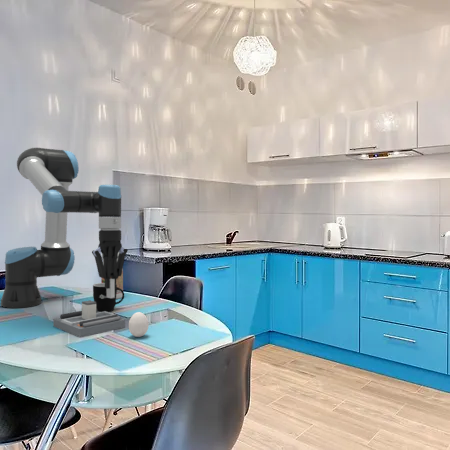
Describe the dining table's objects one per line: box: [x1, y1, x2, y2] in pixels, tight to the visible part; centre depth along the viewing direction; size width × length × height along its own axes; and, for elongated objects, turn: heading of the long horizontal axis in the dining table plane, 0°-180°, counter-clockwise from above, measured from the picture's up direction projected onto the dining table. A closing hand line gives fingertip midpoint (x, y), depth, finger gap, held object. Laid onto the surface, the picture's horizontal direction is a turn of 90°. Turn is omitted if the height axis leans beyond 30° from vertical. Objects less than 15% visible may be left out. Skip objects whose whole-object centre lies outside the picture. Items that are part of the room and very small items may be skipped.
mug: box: [92, 282, 125, 313], centre depth 167 cm, size 12×9×10 cm
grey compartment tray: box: [52, 311, 126, 338], centre depth 142 cm, size 18×16×3 cm
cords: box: [59, 308, 122, 327], centre depth 142 cm, size 13×16×2 cm
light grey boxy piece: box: [81, 300, 96, 320], centre depth 142 cm, size 4×3×6 cm
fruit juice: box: [100, 252, 124, 300], centre depth 190 cm, size 9×9×28 cm
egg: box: [128, 311, 150, 338], centre depth 131 cm, size 6×6×8 cm
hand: (110, 297), depth 147 cm, fingers closed
